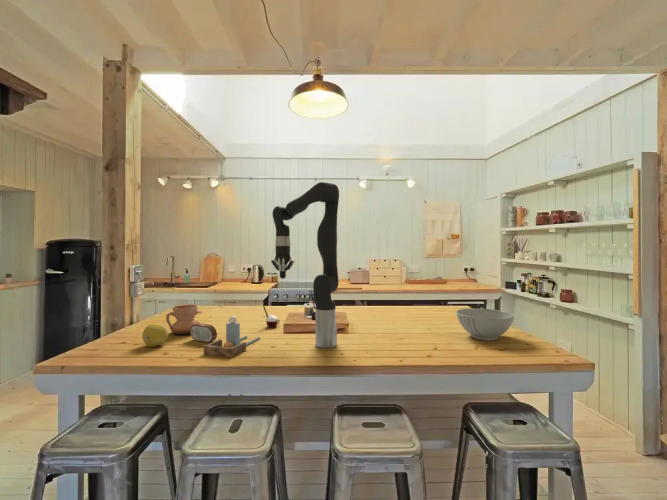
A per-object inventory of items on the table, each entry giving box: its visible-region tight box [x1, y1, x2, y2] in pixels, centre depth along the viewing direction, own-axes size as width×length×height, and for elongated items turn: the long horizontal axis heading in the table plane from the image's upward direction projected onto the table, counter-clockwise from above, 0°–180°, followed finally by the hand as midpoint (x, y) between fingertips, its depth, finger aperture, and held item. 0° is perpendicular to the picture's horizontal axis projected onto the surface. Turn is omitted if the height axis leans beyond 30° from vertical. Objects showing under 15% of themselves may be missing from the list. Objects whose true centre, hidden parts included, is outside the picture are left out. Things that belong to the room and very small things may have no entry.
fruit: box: [141, 323, 169, 348], centre depth 162 cm, size 10×11×10 cm
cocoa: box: [262, 305, 281, 328], centre depth 198 cm, size 10×6×12 cm, turn 98°
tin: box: [190, 322, 218, 344], centre depth 169 cm, size 15×3×8 cm, turn 65°
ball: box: [222, 341, 233, 348], centre depth 155 cm, size 4×4×4 cm
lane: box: [240, 335, 261, 347], centre depth 166 cm, size 8×17×1 cm, turn 161°
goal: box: [203, 339, 247, 358], centre depth 153 cm, size 14×10×4 cm
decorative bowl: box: [455, 307, 515, 341], centre depth 178 cm, size 27×27×12 cm
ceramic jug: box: [165, 303, 203, 335], centre depth 185 cm, size 18×14×14 cm
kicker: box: [225, 315, 241, 347], centre depth 158 cm, size 5×4×14 cm
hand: (282, 278), depth 182 cm, fingers closed
